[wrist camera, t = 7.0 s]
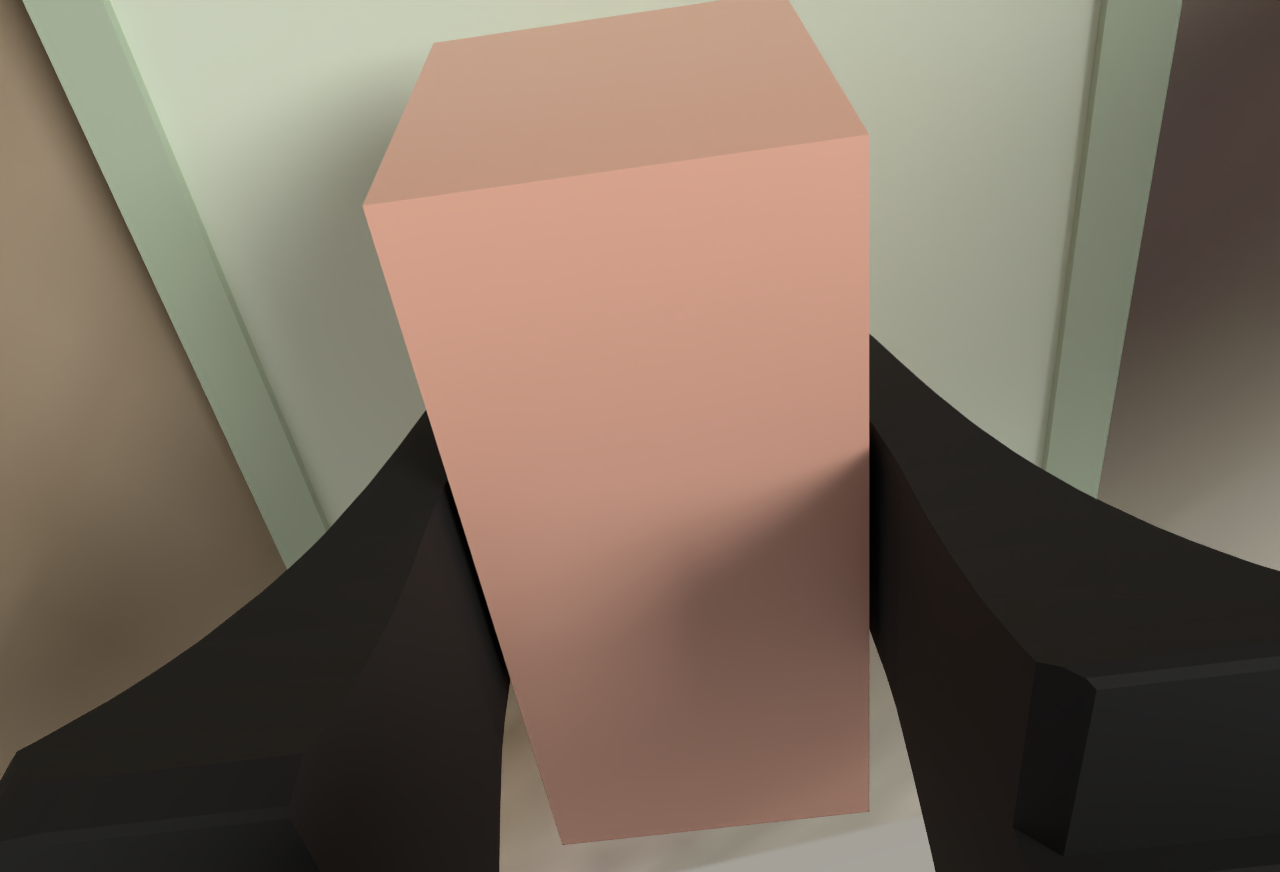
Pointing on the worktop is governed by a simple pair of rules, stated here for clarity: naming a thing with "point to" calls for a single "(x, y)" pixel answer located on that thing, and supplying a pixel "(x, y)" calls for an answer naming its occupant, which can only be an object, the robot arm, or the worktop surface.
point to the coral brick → (652, 399)
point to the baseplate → (496, 3)
